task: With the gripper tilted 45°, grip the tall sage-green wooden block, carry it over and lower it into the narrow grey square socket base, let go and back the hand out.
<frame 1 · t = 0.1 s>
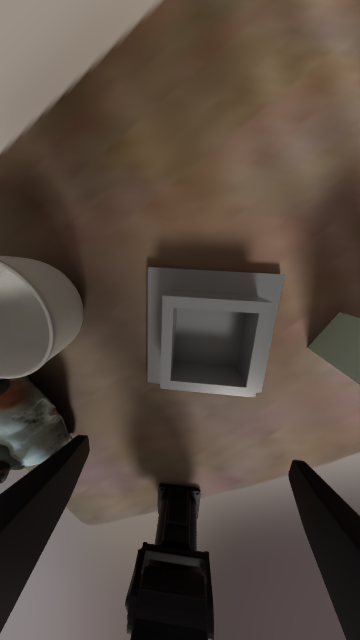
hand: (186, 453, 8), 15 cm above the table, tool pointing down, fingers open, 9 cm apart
grey square socket base: (207, 331, 22), on the table
teacup: (47, 311, 23), on the table
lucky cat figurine: (37, 408, 27), on the table
sage block: (340, 341, 21), on the table
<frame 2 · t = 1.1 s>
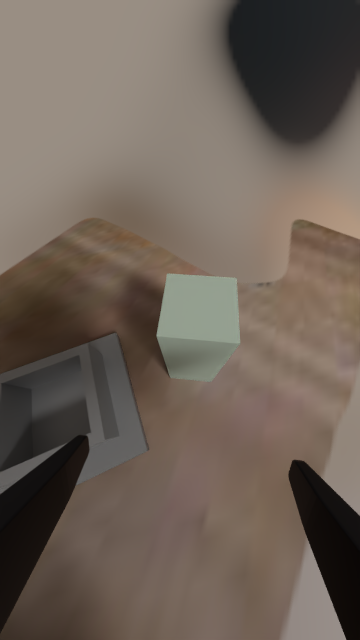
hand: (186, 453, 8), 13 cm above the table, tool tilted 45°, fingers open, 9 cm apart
grey square socket base: (72, 408, 21), on the table
sage block: (191, 359, 24), on the table
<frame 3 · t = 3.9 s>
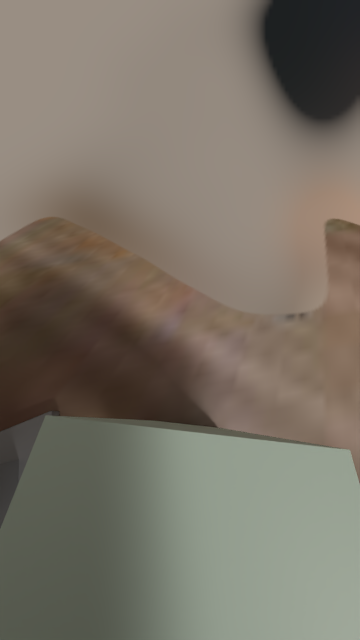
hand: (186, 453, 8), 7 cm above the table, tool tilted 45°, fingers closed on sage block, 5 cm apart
sage block: (183, 464, 13), on the table, touching gripper
when the fingers open (9 cm above the table, at t = 8.2 s): sage block drops 1 cm, resting on grey square socket base.
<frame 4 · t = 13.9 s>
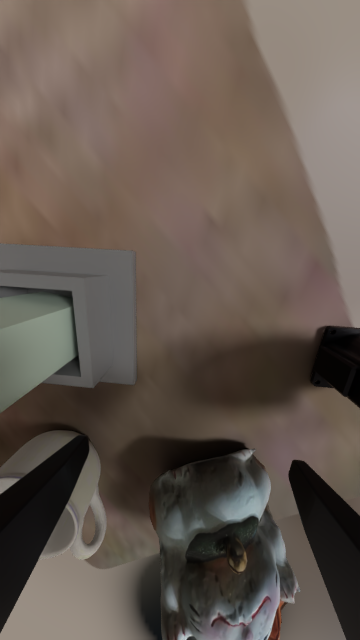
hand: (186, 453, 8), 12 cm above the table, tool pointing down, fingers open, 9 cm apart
grey square socket base: (72, 317, 20), on the table
teacup: (82, 453, 26), on the table
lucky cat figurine: (216, 473, 25), on the table
sage block: (66, 319, 19), point 1 cm above the table, touching grey square socket base
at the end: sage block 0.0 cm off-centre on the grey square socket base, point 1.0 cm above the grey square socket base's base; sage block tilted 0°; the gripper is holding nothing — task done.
